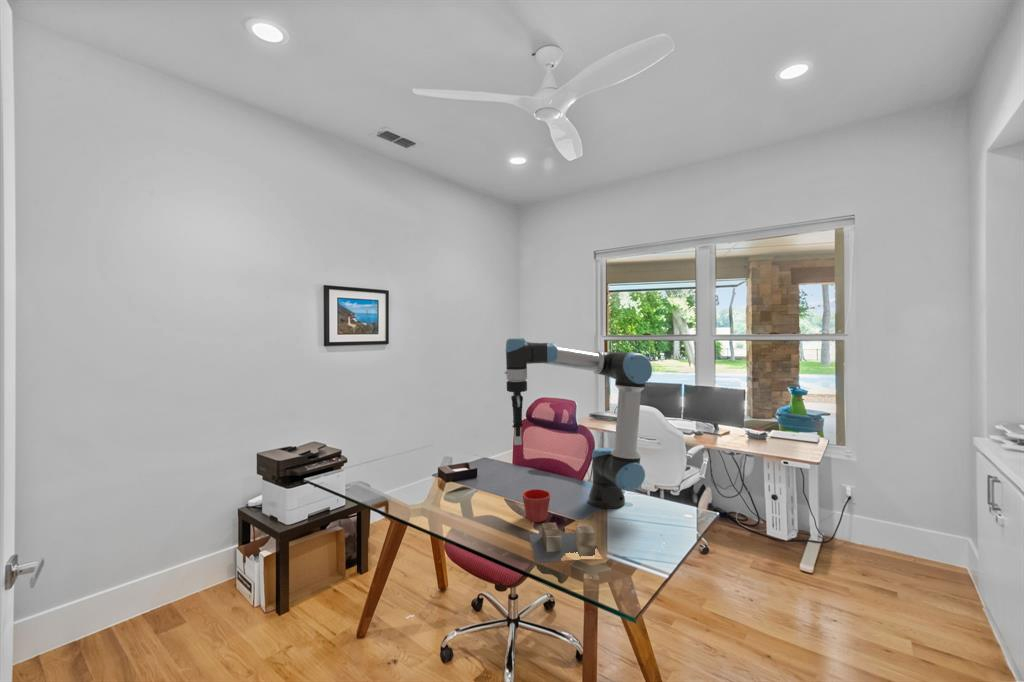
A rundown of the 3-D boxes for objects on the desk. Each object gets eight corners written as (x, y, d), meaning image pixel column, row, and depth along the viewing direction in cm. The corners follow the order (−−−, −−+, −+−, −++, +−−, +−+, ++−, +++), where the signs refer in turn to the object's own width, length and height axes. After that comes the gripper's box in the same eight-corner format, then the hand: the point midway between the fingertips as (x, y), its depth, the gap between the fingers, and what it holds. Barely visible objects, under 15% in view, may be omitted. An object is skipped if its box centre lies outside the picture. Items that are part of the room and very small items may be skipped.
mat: (588, 532, 166) (588, 531, 166) (603, 559, 147) (603, 558, 147) (528, 535, 165) (528, 534, 165) (536, 563, 145) (536, 562, 145)
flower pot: (549, 524, 174) (548, 499, 174) (520, 522, 176) (520, 498, 176) (552, 513, 184) (551, 489, 184) (525, 512, 186) (525, 488, 186)
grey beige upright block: (591, 549, 153) (590, 525, 153) (595, 556, 148) (594, 532, 148) (576, 550, 152) (576, 526, 152) (579, 557, 147) (579, 533, 147)
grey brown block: (561, 551, 152) (555, 536, 163) (561, 536, 152) (555, 522, 163) (546, 552, 152) (542, 537, 163) (546, 537, 152) (541, 523, 162)
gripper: (505, 378, 173) (506, 440, 174) (507, 382, 160) (509, 449, 161) (525, 378, 174) (526, 439, 175) (529, 382, 161) (530, 448, 162)
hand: (517, 444), depth 168 cm, fingers closed
